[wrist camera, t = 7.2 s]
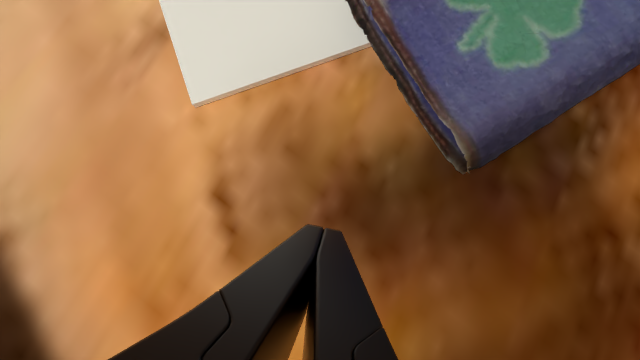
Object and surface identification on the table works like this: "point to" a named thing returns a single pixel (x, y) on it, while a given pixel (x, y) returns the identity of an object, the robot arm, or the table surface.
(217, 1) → the serving board
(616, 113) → the table surface
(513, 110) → the flask
